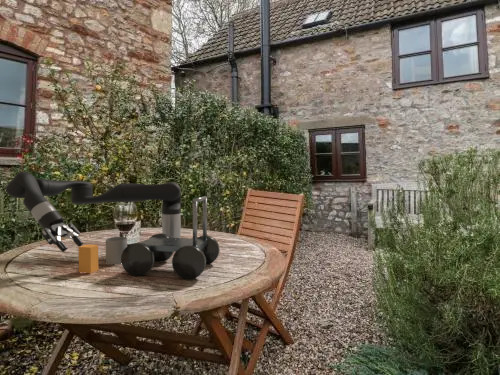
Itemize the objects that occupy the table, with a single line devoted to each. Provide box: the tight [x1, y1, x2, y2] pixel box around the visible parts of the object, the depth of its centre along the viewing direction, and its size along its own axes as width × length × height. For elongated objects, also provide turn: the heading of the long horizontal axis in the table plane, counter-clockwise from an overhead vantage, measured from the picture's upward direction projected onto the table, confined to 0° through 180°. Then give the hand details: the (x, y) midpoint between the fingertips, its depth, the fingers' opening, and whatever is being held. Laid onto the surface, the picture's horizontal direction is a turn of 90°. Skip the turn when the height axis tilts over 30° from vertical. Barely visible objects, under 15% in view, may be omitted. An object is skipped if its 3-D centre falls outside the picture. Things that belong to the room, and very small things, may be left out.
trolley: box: [121, 195, 221, 281], centre depth 127 cm, size 32×21×29 cm
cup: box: [105, 236, 128, 265], centre depth 137 cm, size 8×8×10 cm
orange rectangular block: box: [78, 244, 99, 274], centre depth 124 cm, size 5×4×10 cm
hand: (73, 247), depth 124 cm, fingers open, 8 cm apart
